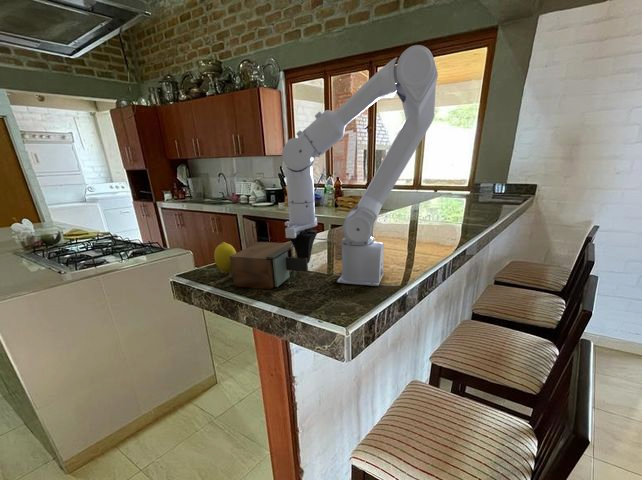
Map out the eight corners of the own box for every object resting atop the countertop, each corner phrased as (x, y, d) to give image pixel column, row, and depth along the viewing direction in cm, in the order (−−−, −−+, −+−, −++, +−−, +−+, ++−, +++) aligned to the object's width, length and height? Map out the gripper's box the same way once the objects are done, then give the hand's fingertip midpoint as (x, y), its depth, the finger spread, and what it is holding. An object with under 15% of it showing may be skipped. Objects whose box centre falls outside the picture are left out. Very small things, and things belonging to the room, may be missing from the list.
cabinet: (300, 270, 86) (298, 242, 82) (277, 290, 74) (274, 257, 70) (262, 268, 89) (259, 240, 85) (234, 286, 77) (229, 254, 73)
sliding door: (309, 278, 79) (307, 252, 76) (298, 289, 73) (296, 260, 70) (287, 276, 81) (285, 250, 78) (275, 286, 75) (272, 259, 72)
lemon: (242, 269, 88) (238, 239, 84) (235, 276, 83) (230, 244, 79) (222, 269, 88) (216, 239, 85) (213, 276, 83) (208, 244, 80)
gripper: (296, 197, 80) (299, 253, 86) (269, 206, 67) (275, 270, 73) (324, 197, 78) (326, 255, 84) (302, 206, 65) (305, 272, 71)
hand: (304, 262), depth 78 cm, fingers closed
